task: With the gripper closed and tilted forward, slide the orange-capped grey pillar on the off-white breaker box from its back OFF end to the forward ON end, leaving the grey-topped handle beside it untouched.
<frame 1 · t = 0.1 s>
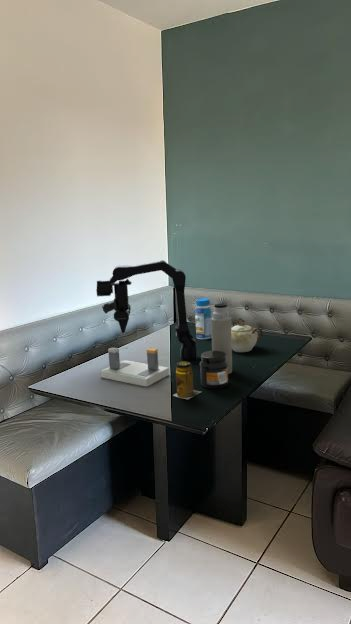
hand: (123, 330, 217), 15 cm above the table, tool pointing down, fingers open, 9 cm apart
condiment: (187, 394, 180), on the table
supplement container: (214, 384, 188), on the table
beverage bottle: (204, 337, 254), on the table
breaker box: (135, 376, 201), on the table
on handle: (114, 358, 201), point 8 cm above the table, slide at 6.0 cm
orange-capped grey pillar: (152, 359, 198), point 8 cm above the table, slide at 0.0 cm
sugar bowl: (241, 350, 230), on the table
thermos bottle: (222, 371, 202), on the table
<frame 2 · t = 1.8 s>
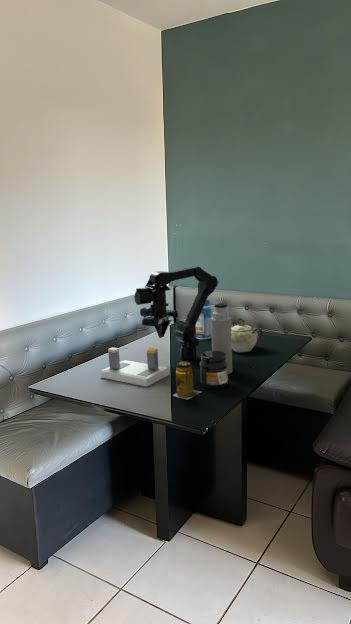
hand: (161, 337, 212), 12 cm above the table, tool pointing down, fingers closed
nothing on the table moved.
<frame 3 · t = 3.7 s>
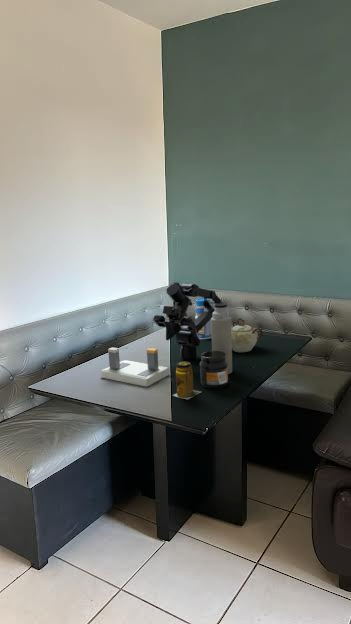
hand: (166, 339, 205), 13 cm above the table, tool tilted 45°, fingers closed
nothing on the table moved.
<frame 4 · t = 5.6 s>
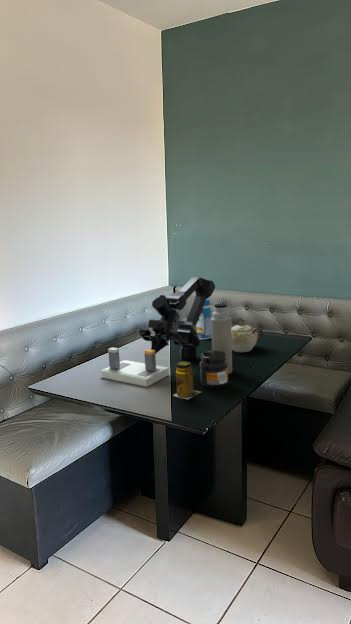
hand: (152, 354, 197), 9 cm above the table, tool tilted 45°, fingers closed, pressing on orange-capped grey pillar
orange-capped grey pillar: (150, 360, 196), point 8 cm above the table, slide at 1.6 cm, touching gripper
everything else where it was.
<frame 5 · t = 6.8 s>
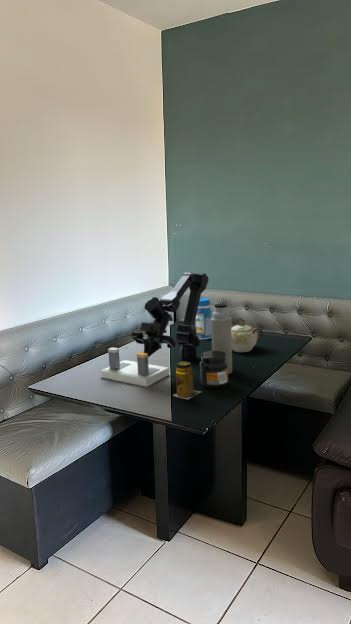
hand: (144, 358, 193), 9 cm above the table, tool tilted 45°, fingers closed, pressing on orange-capped grey pillar
orange-capped grey pillar: (142, 363, 192), point 8 cm above the table, slide at 6.4 cm, touching gripper
everything else where it was.
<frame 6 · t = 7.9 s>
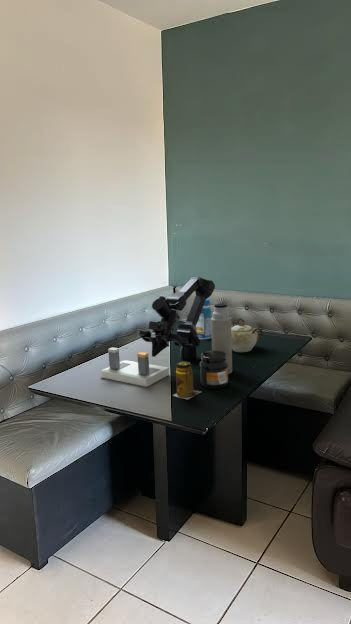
hand: (153, 356, 198), 9 cm above the table, tool tilted 45°, fingers closed
orange-capped grey pillar: (143, 363, 193), point 8 cm above the table, slide at 6.0 cm
everything else where it was.
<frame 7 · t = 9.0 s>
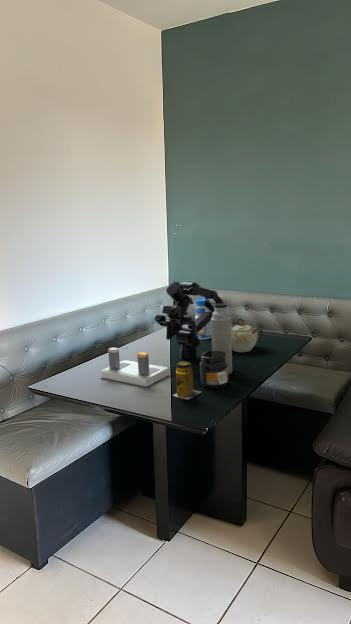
hand: (167, 339, 206), 13 cm above the table, tool tilted 45°, fingers closed
nothing on the table moved.
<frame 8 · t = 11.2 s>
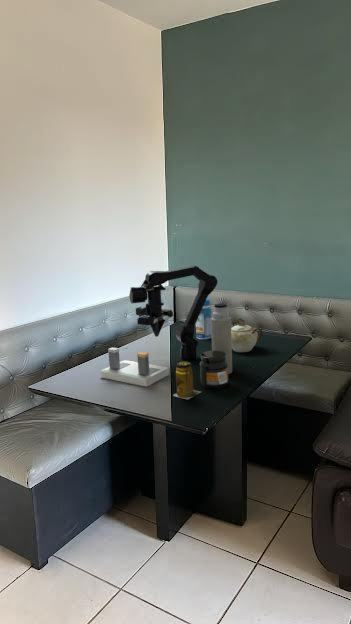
hand: (156, 336, 214), 12 cm above the table, tool pointing down, fingers closed
nothing on the table moved.
at the end: orange-capped grey pillar slide at 6.0 cm; on handle slide at 6.0 cm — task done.
